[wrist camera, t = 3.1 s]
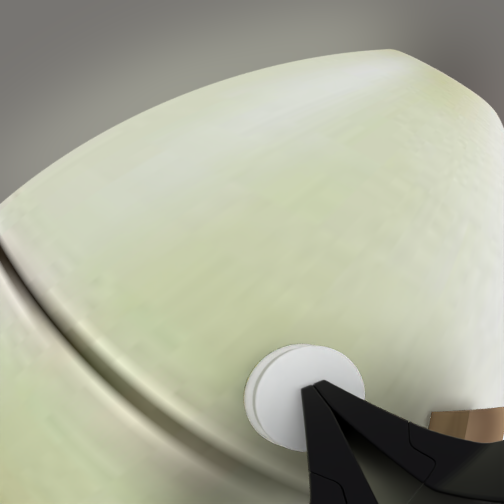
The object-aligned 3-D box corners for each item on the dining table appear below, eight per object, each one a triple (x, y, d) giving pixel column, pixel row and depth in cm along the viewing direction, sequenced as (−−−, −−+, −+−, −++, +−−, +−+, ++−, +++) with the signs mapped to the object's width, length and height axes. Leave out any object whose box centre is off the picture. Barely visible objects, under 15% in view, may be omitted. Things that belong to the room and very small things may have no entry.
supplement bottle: (282, 340, 18) (313, 306, 10) (334, 389, 16) (399, 388, 9) (227, 392, 16) (214, 400, 8) (280, 442, 15) (311, 485, 7)
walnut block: (470, 409, 15) (508, 406, 11) (459, 461, 13) (495, 466, 9) (431, 411, 15) (469, 410, 11) (418, 467, 13) (454, 477, 9)
